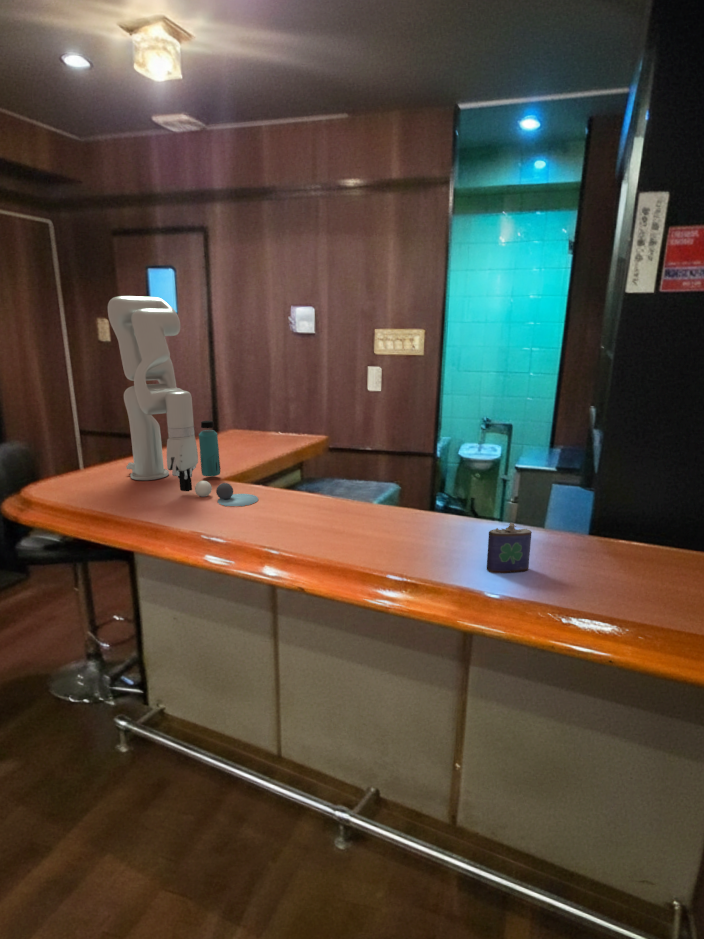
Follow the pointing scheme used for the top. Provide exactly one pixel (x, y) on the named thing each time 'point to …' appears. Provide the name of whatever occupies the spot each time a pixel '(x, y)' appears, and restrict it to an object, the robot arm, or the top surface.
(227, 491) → the object ball
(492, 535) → the flask
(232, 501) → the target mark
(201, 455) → the beverage bottle
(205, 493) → the cue ball
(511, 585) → the top surface
